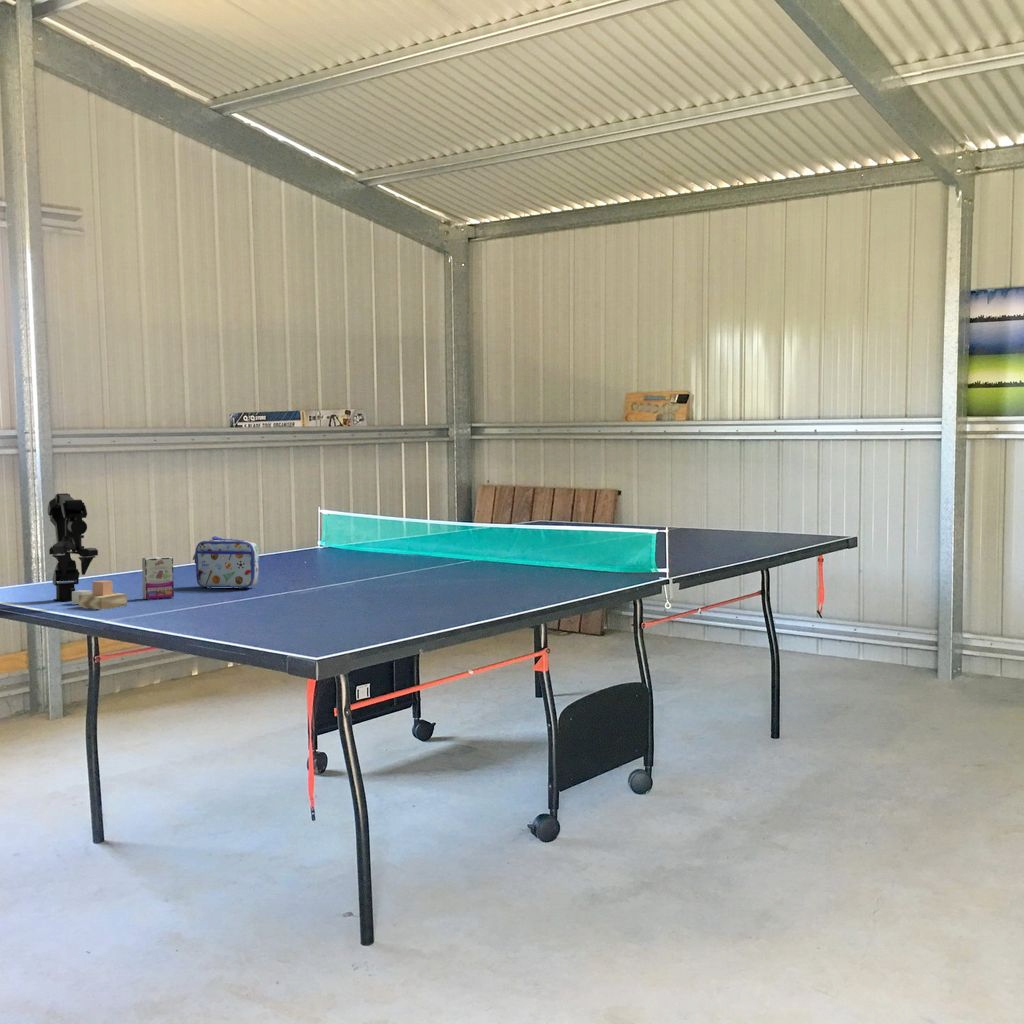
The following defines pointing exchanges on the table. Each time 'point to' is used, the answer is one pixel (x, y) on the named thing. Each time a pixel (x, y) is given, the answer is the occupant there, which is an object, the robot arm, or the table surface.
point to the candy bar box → (157, 577)
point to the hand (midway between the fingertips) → (73, 574)
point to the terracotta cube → (102, 587)
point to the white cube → (76, 595)
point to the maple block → (102, 601)
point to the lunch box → (226, 563)
